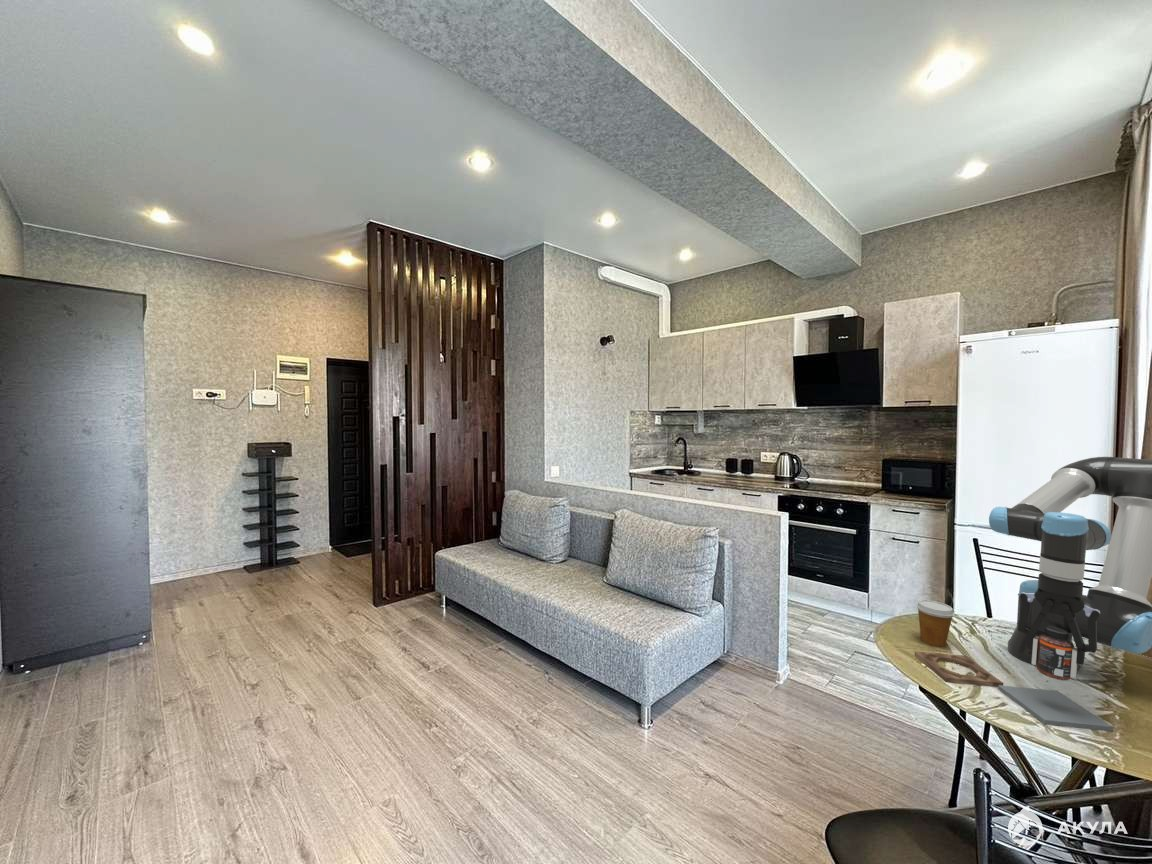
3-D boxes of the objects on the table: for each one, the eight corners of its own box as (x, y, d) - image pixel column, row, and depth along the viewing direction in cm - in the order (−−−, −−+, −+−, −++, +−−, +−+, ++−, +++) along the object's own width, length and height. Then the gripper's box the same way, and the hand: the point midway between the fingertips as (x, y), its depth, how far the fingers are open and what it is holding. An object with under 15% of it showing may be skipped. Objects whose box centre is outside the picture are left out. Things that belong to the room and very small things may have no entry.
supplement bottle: (1068, 684, 109) (1072, 637, 108) (1033, 672, 113) (1036, 627, 113) (1072, 676, 112) (1076, 631, 112) (1038, 665, 117) (1041, 622, 117)
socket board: (965, 659, 136) (966, 655, 136) (1003, 687, 122) (1003, 683, 122) (914, 655, 138) (914, 651, 138) (945, 682, 124) (946, 677, 124)
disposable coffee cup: (960, 650, 141) (962, 612, 141) (929, 649, 141) (931, 611, 141) (936, 635, 151) (938, 599, 150) (907, 634, 151) (909, 598, 150)
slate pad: (1057, 694, 119) (1057, 690, 119) (1112, 731, 106) (1113, 726, 106) (997, 688, 121) (998, 685, 121) (1044, 724, 107) (1044, 720, 107)
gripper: (1121, 585, 107) (1113, 683, 108) (1011, 563, 122) (1004, 648, 123) (1119, 592, 102) (1111, 693, 103) (1005, 568, 117) (998, 656, 118)
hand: (1053, 669), depth 113 cm, fingers closed on supplement bottle, 6 cm apart
